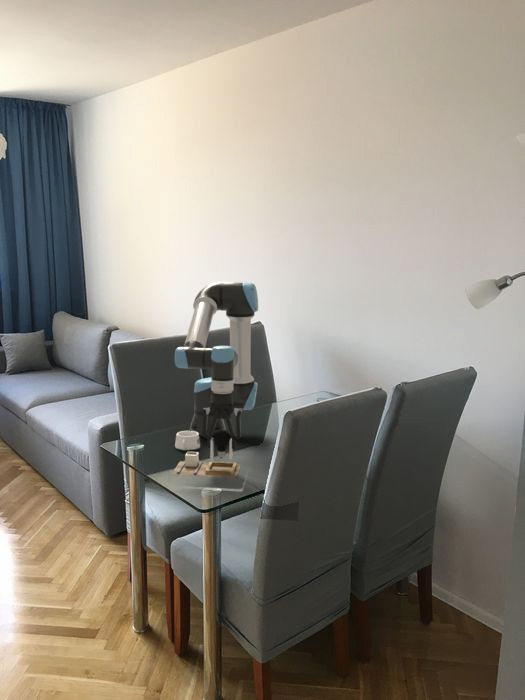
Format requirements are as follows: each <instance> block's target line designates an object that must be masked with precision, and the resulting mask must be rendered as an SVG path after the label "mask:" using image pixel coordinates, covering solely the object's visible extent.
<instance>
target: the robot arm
mask: <svg viewBox="0 0 525 700" xmlns="http://www.w3.org/2000/svg"><path fill="white" fill-rule="evenodd" d="M258 297H259V296H258V291H257V287H256V285H255V284H254V283H253V282H247V281H246V282H245V281H215V282H214V281H213V282H212V283H209V284H207V285H206V286H204V288H202V289H201V290H200V291H199V292H198V294H197V295H196V297H195V298H194V302H193V304H192V306H193V312H192V313H193V314H192V316H191V317H192V318H191V320H190V325H189V328H188V330H187V335H186V338H185V342H184V344H183V346H179V347H178V346H177V347H176V349H175V352H174V364H175V366H176V367H177V368H179V369H187V370H188V369H190V370H191V369H195V370H196V369H197V370H199V369H200V370H211V376H210V377H205V378H201V379H198V380H196V382H195V383H194V388H193V389H194V390H193V395H194V397H193V406H194V407H193V409H194V410H193V411H194V414H193V417H192V420H191V423H190V426H189V431H190V430H191V431H195V432H198V433H199V435H202V436H201V437H202V438H205V439H206V441H207V444H206V445H207V449H210V453H209V454H210V455H209V457H210V459H214V455H215V454H214V453H215V452H214V451H215V443H214V441H213V436H212V435H214V434H215V433H216V432H217V431H218V430H225V431H226V425H225V423H226V424H227V428H228V431H229V432H228V433H229V435H230V442H229V444H228V445H229V449H228V450H229V453H228V457H229V458H228V459H229V460H232V458H233V453H234V452H233V450H236V445H237V440H240V439H241V437H242V419H241V415H242V412H243V411H244V410H246V411H247V410H248V411H250V410H252V409H254V408H255V403H256V399H257V393H258V392H257V391H258V384H259V383H258V382H256V381H255V377H254V376H252V373H251V367H252V366H251V358H252V357H251V356H252V355H251V352H252V351H251V350H252V347H251V345H252V344H251V343H252V339H251V338H252V337H251V336H252V335H251V332H252V331H251V330H252V329H251V328H252V325H251V324H252V323H251V322H252V321H251V320H252V319H253V318H254V317H255V313H256V312H258V311H259V298H258ZM218 311H225V316H226V317H227V318H228V319H229V345H216V346H213V347H212V348H211V347H206V346H207V340H208V337H209V333H210V329H211V325H212V321H213V317H214V315H215V314H216V313H217V312H218ZM233 413H234V415H235V416H236V417H235V422H236V433H235V429H234V425H233V422H232V418H231V417H232V416H231V415H232V414H233ZM224 420H225V421H226V422H225V421H224Z"/></svg>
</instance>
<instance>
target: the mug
mask: <svg viewBox="0 0 525 700" xmlns="http://www.w3.org/2000/svg"><path fill="white" fill-rule="evenodd" d="M174 443H175V444H174V447H175V449H177V450H181V451H193V450H198V449H201V442H200V436H199V433H198V432H195V431H190V430H181V431H178V432H177V433H176V434H175V442H174Z"/></svg>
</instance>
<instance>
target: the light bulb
mask: <svg viewBox="0 0 525 700" xmlns="http://www.w3.org/2000/svg"><path fill="white" fill-rule="evenodd" d="M212 438H213V441H214V445H215V446H216V450H217V456H218V457H219V458H220V459H223V458H225V456H226V452H227V451H226V450H227V447H228V445H230V439H231V435H230V432H228V431H227V430H226V429H225V430H218V431H217V432H216V433H215V434H214V436H212Z"/></svg>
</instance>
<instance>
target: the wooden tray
mask: <svg viewBox="0 0 525 700" xmlns="http://www.w3.org/2000/svg"><path fill="white" fill-rule="evenodd" d="M240 468H241V463H238V462H235V461H234V462H232V461H209V462H205V461H199V463H198V465H197V467H189V466H185V460H183V461H182V460H180V461H179V462H178V463H177V465H176V466H175V468H174V470H173V471H172V472H171V474H170V475H171V476H172V475H174V476H193V477H194V476H195V477H213V478H218V477H219V478H237V476H238V473H239V470H240Z"/></svg>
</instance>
